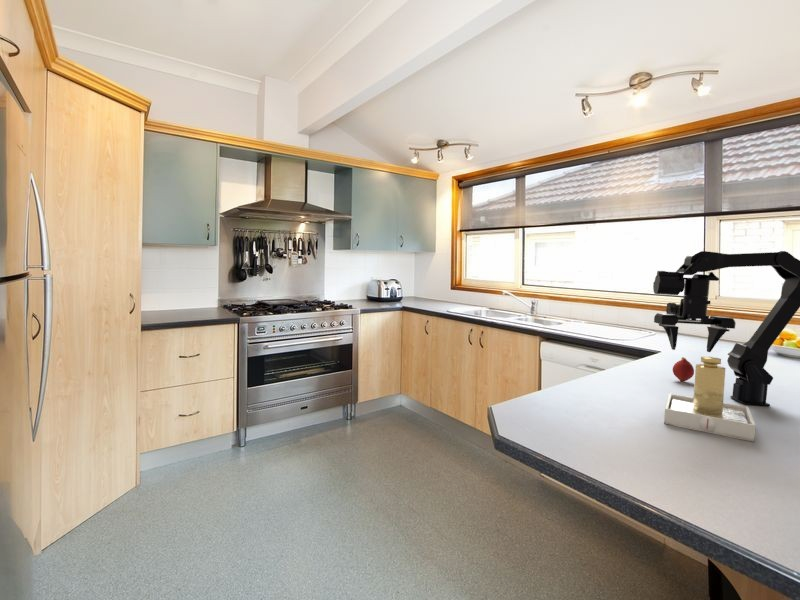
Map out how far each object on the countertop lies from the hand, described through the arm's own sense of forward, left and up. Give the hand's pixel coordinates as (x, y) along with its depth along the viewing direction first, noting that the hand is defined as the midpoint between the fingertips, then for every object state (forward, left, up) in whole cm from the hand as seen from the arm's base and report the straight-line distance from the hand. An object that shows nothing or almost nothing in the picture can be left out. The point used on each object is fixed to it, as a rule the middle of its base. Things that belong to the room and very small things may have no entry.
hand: (690, 350), depth 122 cm
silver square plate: (+7, +24, -11) cm, 27 cm away
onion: (-7, -18, -13) cm, 23 cm away
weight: (+7, +24, -10) cm, 27 cm away
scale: (+7, +24, -13) cm, 28 cm away
